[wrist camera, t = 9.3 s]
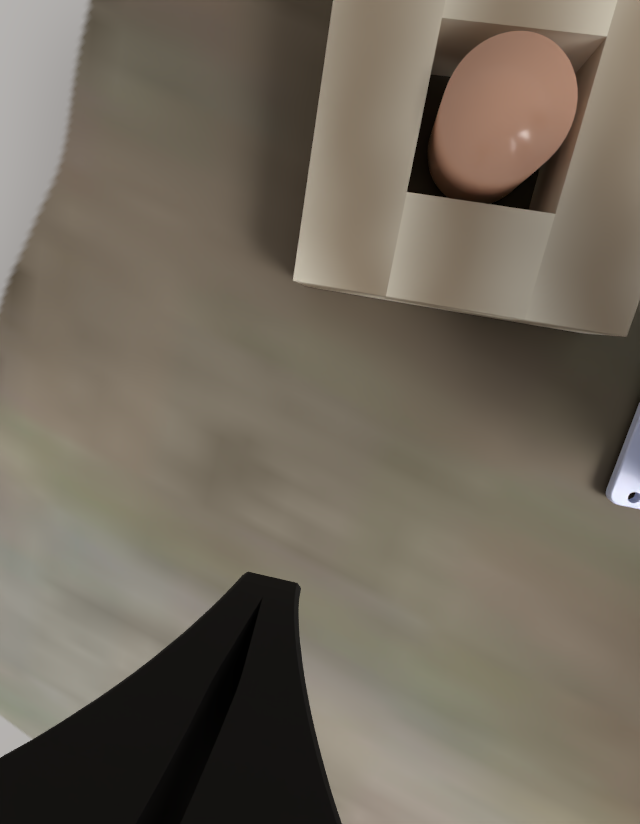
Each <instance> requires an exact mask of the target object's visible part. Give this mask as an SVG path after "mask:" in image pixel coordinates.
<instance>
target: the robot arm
mask: <svg viewBox="0 0 640 824" xmlns="http://www.w3.org/2000/svg"><path fill="white" fill-rule="evenodd" d="M632 492H635V495H634V497H633V498H631V499H628V496H629V494H630V493H632ZM606 496H607V498H608V499H609V500H610V501H611V502H613V503H614V504H617V505H621V506H626V507H631V508H636V509H640V402H639V405H638V407H637V410H636V413H635V415H634V418H633V421H632V423H631V426H630V429H629V431H628V434H627V436H626V439H625V442H624V444H623V447H622V450H621V452H620V455H619V457H618V460H617V463H616V465H615V468H614V471H613V473H612V476H611V478H610V481H609V484H608V486H607V489H606ZM300 591H301V588H300V586H299V585H298V583H295V582H291V581H286V580H282V579H277V578H273V577H269V576H264V575H260V574H256V573H251V572H247V573H245V574H244V575H242V576H241V578H240V579H239V580H238V581H237V582H236V583H235V584H234V585H233V586H232V587H231V588H230V589H229V590H228V592H227V593H226V594H225V595H224V596H223V597H222V598H221V599H220V600H219V601H217V602H216V603H215V604H214V605H213V606H212V607H211V608H210V609H209V610H208V611H207V612H206V613H205V614H204V615H203V616H202V617H200V618H199V619H198V620H197V621H196V622H195V623H194V624H193V625H192V626H191V627H190V628H188V629H187V630H186V631H185V632H184V633H183V634H182V635H180V636H179V637H178V638H177V639H176V640H174V641H173V642H172V643H171V644H169V645H168V646H167V647H166V648H165V649H163V650H162V651H161V652H160V653H159V654H157V655H156V656H155V657H154V658H152V659H151V660H150V661H149V662H147V663H146V664H145V665H143V666H142V667H141V668H139V669H138V670H137V671H136V672H134V673H133V674H131V675H130V676H129V677H127V678H126V679H125V680H123V681H122V682H120V683H119V684H118V685H116V686H115V687H113V688H112V689H111V690H109V691H108V692H106V693H105V694H103V695H102V696H100V697H99V698H98V699H96V700H94V701H93V702H91V703H90V704H88V705H87V706H85V707H84V708H82V709H81V710H79V711H78V712H76V713H74V714H73V715H71V716H70V717H68V718H67V719H65V720H64V721H62V722H61V723H59V724H57V725H56V726H54V727H52V728H51V729H49V730H48V731H46V732H44V733H43V734H41V735H39V736H38V737H36V738H34V739H33V740H31V741H30V742H27V743H26V744H24V745H22V746H20V747H18V748H17V749H15V750H13V751H11V752H10V753H8V754H6V755H4V756H3V757H1V758H0V824H342V823H341V820H340V817H339V814H338V811H337V808H336V805H335V802H334V799H333V796H332V793H331V789H330V786H329V782H328V778H327V775H326V771H325V768H324V764H323V760H322V757H321V753H320V749H319V745H318V741H317V737H316V733H315V729H314V724H313V720H312V715H311V710H310V705H309V700H308V695H307V689H306V684H305V678H304V671H303V664H302V655H301V647H300V637H299V619H298V606H299V596H300Z"/></svg>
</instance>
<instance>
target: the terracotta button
mask: <svg viewBox="0 0 640 824" xmlns="http://www.w3.org/2000/svg"><path fill="white" fill-rule="evenodd" d="M577 99H578V87H577V81H576V76H575V72H574V69H573V67H572V64H571V62H570V60H569V58H568V57H567V55H566V54H565V52H564V51H563V50H562V49H561V48H560V47H559V46H558V45H557V44H556V43H555V42H553V41H552V40H551V39H549V38H547V37H545V36H543V35H541V34H538V33H535V32H529V31H510V32H505V33H501V34H498V35H496V36H493V37H491V38H489V39H487V40H485V41H484V42H482V43H480V44H479V45H478V46H476V47H475V48H474V49H472V50H471V51H470V52H469V53H468V54H467V55H466V56H465V57H464V58H463V60H462V61H461V62H460V63H459V65H458V66H457V68H456V69H455V71H454V72H453V74H452V76H451V78H450V80H449V82H448V84H447V87H446V89H445V92H444V95H443V98H442V101H441V104H440V107H439V110H438V113H437V116H436V119H435V122H434V125H433V128H432V131H431V135H430V138H429V143H428V152H427V158H428V166H429V170H430V173H431V176H432V179H433V180H434V182H435V184H436V186H437V187H438V188H439V190H440V191H441V192H442V193H443V194H444V195H446V196H447V197H448V198H451V199H458V200H465V201H472V202H479V203H485V204H490V203H493V202H496V201H498V200H500V199H502V198H504V197H505V196H507V195H508V194H510V193H511V192H512V191H513V190H514V189H516V188H517V187H518V186H519V185H520V184H521V183H522V182H523V181H525V180H526V179H527V178H528V177H529V176H530V175H531V174H533V173H534V172H535V171H536V170H537V169H538V168H539V167H541V166H542V165H543V164H544V163H545V162H546V161H547V160H548V159H549V158H550V157H551V156H552V155H553V154H554V153H555V152H556V151H557V150H558V148H559V147H560V146H561V144H562V143H563V141H564V140H565V138H566V136H567V134H568V132H569V130H570V128H571V126H572V123H573V120H574V117H575V112H576V108H577Z"/></svg>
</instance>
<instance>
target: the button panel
mask: <svg viewBox="0 0 640 824" xmlns="http://www.w3.org/2000/svg"><path fill="white" fill-rule="evenodd" d="M510 31H529V32H535V33H538V34H541V35H543V36H545V37H547V38H549V39H551V40H552V41H553V42H555V43H556V44H557V45H558V46H559V47H560V48H561V49H562V50H563V51H564V52H565V54H566V55H567V57H568V58H569V60H570V62H571V64H572V67H573V69H574V72H575V76H576V81H577V87H578V99H577V108H576V112H575V117H574V120H573V123H572V126H571V128H570V130H569V132H568V134H567V136H566V138H565V140H564V141H563V143H562V144H561V146H560V147H559V148H558V150H557V151H556V152H555V153H554V154H553V155H552V156H551V157H550V158H549V159H548V160H547V161H546V162H545V163H544V164H543V165H542V166H541V167H540V170H539V173H538V177H537V181H536V184H535V188H534V192H533V195H532V199H531V203H530V206H529V210H526V209H519V208H512V207H506V206H499V205H492V204H485V203H479V202H472V201H465V200H458V199H451V198H445V197H438V196H431V195H424V194H418V193H411V192H407V189H408V184H409V179H410V174H411V169H412V164H413V159H414V154H415V149H416V144H417V139H418V134H419V129H420V124H421V119H422V114H423V109H424V105H425V100H426V95H427V90H428V85H429V80H430V75H439V76H447V77H451V76H452V74H453V72H454V71H455V69H456V68H457V66H458V65H459V63H460V62H461V61H462V60H463V58H464V57H465V56H466V55H467V54H468V53H469V52H470V51H471V50H472V49H474V48H475V47H476V46H478V45H479V44H480V43H482V42H484V41H485V40H487V39H489V38H491V37H493V36H496V35H498V34H501V33H505V32H510ZM293 281H295V282H297V283H299V284H301V285H304V286H306V287H312V288H318V289H324V290H330V291H335V292H341V293H347V294H353V295H359V296H365V297H371V298H377V299H383V300H388V301H394V302H400V303H406V304H412V305H418V306H424V307H430V308H436V309H442V310H447V311H453V312H459V313H465V314H471V315H477V316H483V317H489V318H495V319H500V320H506V321H512V322H518V323H524V324H530V325H536V326H542V327H548V328H554V329H559V330H565V331H571V332H577V333H584V334H597V335H610V336H623V337H627V334H628V332H629V329H630V326H631V323H632V320H633V318H634V315H635V312H636V309H637V306H638V304H639V301H640V0H333V5H332V12H331V19H330V26H329V33H328V40H327V47H326V54H325V61H324V68H323V75H322V82H321V88H320V95H319V102H318V109H317V116H316V123H315V130H314V137H313V144H312V151H311V158H310V165H309V172H308V179H307V186H306V193H305V200H304V207H303V214H302V221H301V228H300V235H299V242H298V249H297V256H296V263H295V270H294V277H293Z"/></svg>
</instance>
